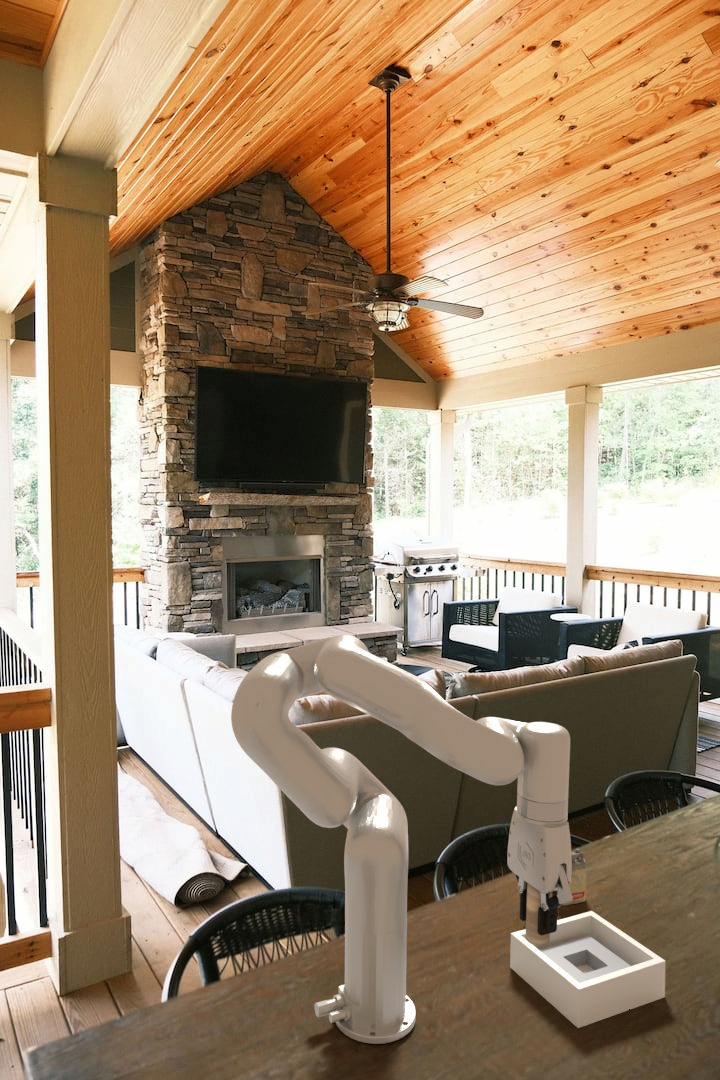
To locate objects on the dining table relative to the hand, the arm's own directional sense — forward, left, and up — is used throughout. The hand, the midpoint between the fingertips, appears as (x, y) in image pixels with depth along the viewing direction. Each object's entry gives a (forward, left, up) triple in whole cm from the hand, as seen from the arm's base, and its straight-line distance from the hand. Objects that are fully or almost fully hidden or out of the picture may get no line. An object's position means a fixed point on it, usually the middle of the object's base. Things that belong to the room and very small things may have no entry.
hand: (537, 924), depth 114 cm
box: (+14, +5, -16) cm, 22 cm away
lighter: (+30, +28, -16) cm, 44 cm away
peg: (0, 0, -2) cm, 2 cm away
